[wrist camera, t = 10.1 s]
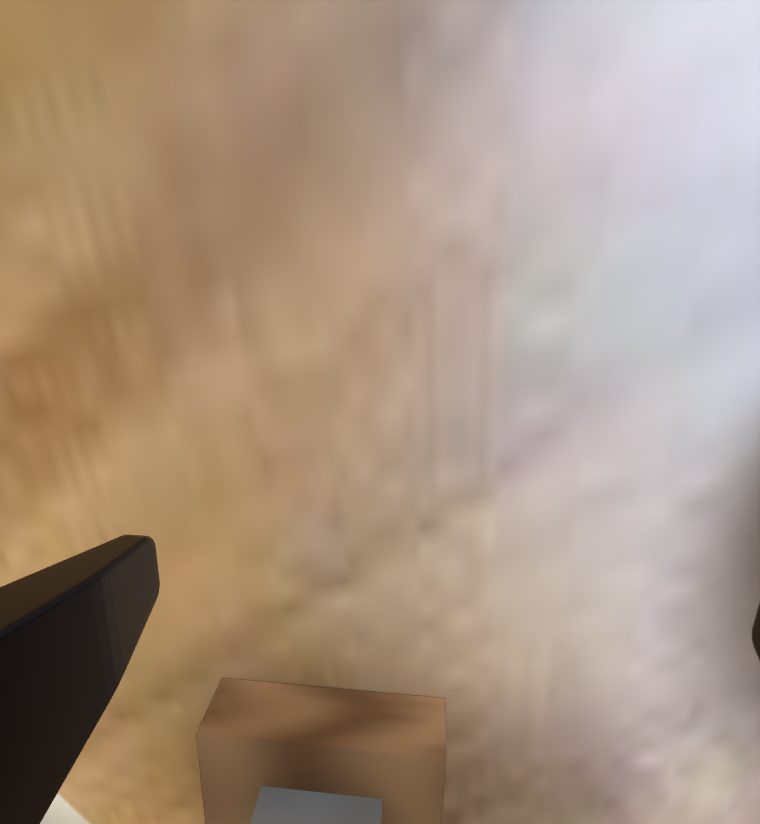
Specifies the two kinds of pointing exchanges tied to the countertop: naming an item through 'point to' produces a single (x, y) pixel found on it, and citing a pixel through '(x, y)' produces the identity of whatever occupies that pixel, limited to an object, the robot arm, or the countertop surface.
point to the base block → (322, 748)
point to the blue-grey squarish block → (314, 808)
